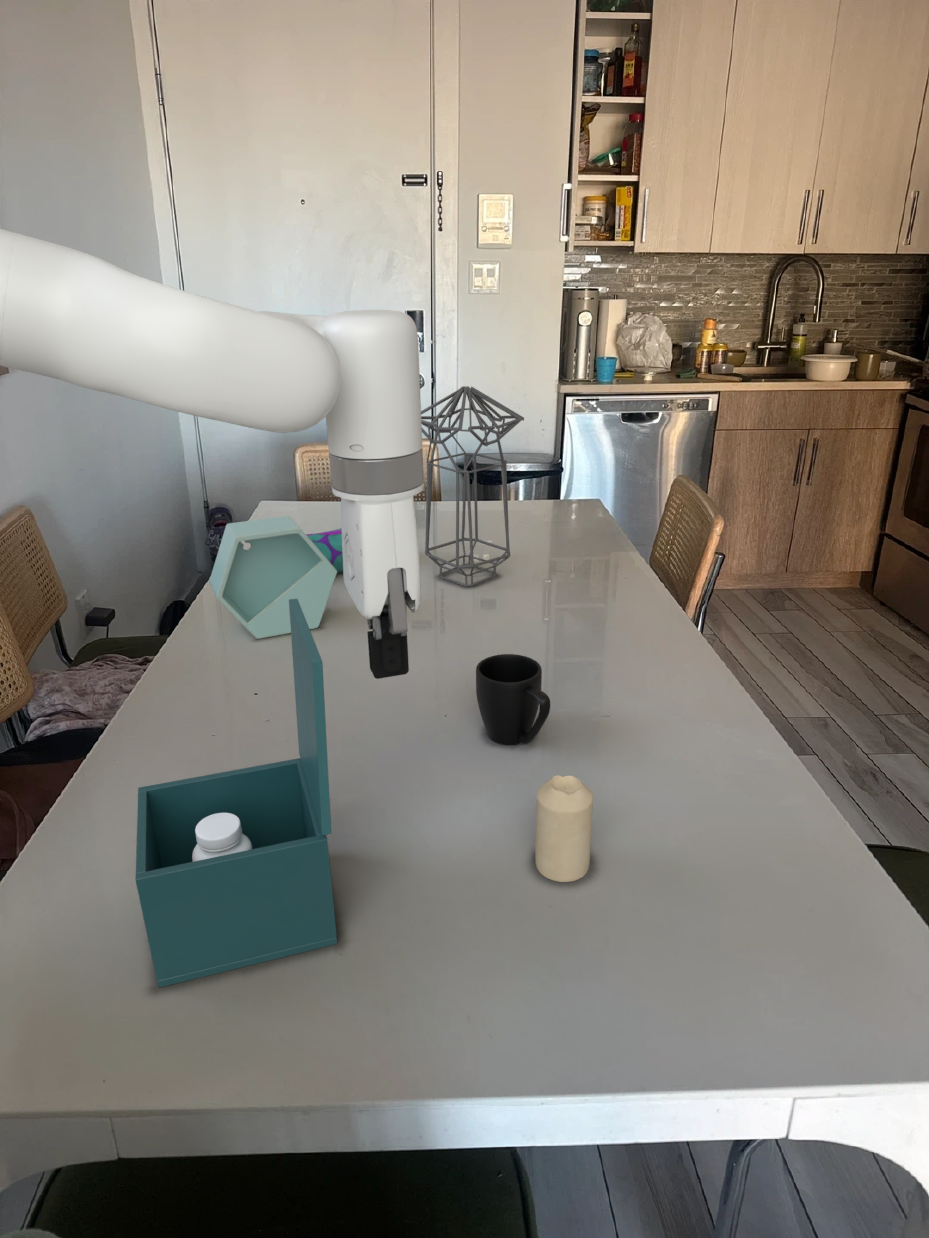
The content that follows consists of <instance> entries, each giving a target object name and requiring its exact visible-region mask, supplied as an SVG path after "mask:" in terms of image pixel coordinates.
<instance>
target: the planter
mask: <svg viewBox="0 0 929 1238" xmlns="http://www.w3.org/2000/svg"><path fill="white" fill-rule="evenodd" d="M242 542H245V543H246V544H250V546H249V547H248V548H247V549H245V548H244V543H242ZM216 554H217V555H216V557H215V561H214V564H213V568H212V571H211V574H210V577H209V581H208V583H209V585H210V587H211V589H212V592H213V594H214V596H215V598H216V599H217V601H218V602H219V603H220V604H221V605H222V606H223V607H224V608H225V609H227V611H228V612H229V613H230V614H231V615H232V616H233V617H234V618H235V619H236V620H237V621H238V622H239V623H240V624H241V625H242V626H243V627H244V628H245V629H246V630H247V631H248V632H249V633H250V634H251V635H252V637H254V638H255V639H257V640H260V639H265V638H270V637H276V636H282V635H286V634H287V635H288V634H291V625H290V610H289V599H298V601H299V604H300V606H301V609H302V611H303V614H304V616H305V619H306V621H307V624H308V626H309V629H310V630H313V629H318V628H319V626H320V624H321V621H322V618H323V615H324V612H325V609H326V606H327V603H328V600H329V597H330V594H331V592H332V588H333V586H334V582H335V581H336V577H337V570H336V569H335V568H334V567H333V565H332V564H331V563H330V562H329V561H328V560H327V558H326V557H325V556H324V555H323V554H322V553H321V551H320V550H319V549H318V548H317V547H316V546H315V544H314V543H313V542H312V541H311V540H310V539H309V537H308V536H307V535H306V533H305V532H304V530H303V529H302V528H301V527H300V526H299V525H298V523H297V522H296V521H295V520H294V518H292V516H291V515H282V516H276V517H267V518H260V519H252V520H245V521H238V522H237V521H236V522H229V523H226V525H225V528H224V531H223V535H222V536H221V541H220V545H219V547H218V551H217V553H216Z"/></svg>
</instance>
